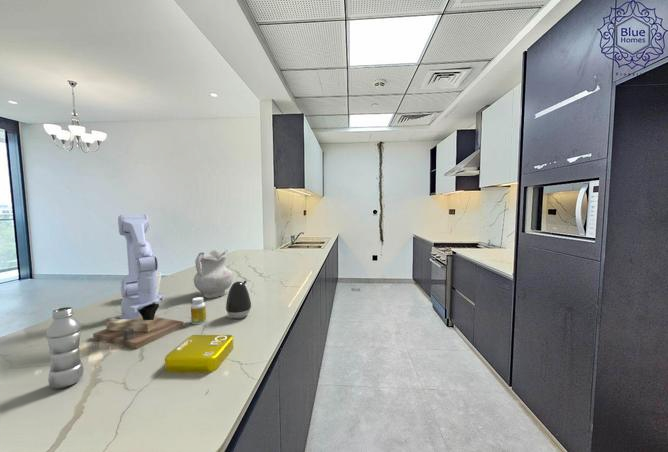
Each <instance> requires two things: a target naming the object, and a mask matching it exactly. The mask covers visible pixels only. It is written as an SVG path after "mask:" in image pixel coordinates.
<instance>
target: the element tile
mask: <svg viewBox="0 0 668 452" xmlns="http://www.w3.org/2000/svg"><path fill="white" fill-rule="evenodd" d="M233 350H234V336H233V335H232V334H192V335H190V336H189V337H187V338H186V339H185V340H183V341H182V342H181V343H180V344H179V345H177V346H175V348H174V349H173V350H171V351H170V352H169V353H168V354H167V355H166V356H164V371H165V372H166V373H187V374H188V373H197V374H199V373H204V374H205V373H206V374H207V373H209V374H210V373H212V372H215V371H217V370H218V369H219V367H220V366H221V365H222V364H223V362H224V361H225V360H226V359H227V358H228V357H229V355H230V354H231V352H232V351H233Z"/></svg>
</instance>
